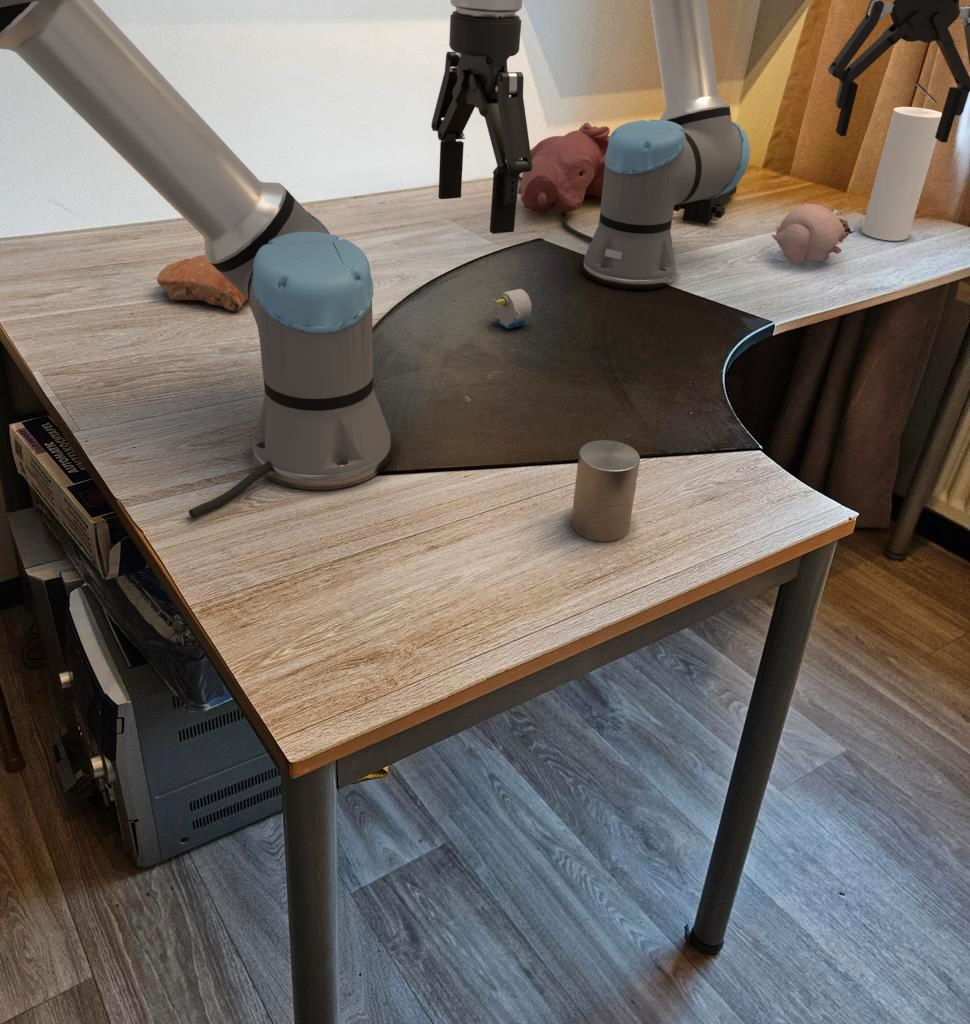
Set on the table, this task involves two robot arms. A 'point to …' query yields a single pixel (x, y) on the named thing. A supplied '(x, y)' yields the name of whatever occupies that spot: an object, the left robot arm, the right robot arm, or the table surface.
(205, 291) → the ceramic shard
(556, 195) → the pink toy pig
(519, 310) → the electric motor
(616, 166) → the right robot arm
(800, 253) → the toy
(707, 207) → the toy
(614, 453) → the tin
